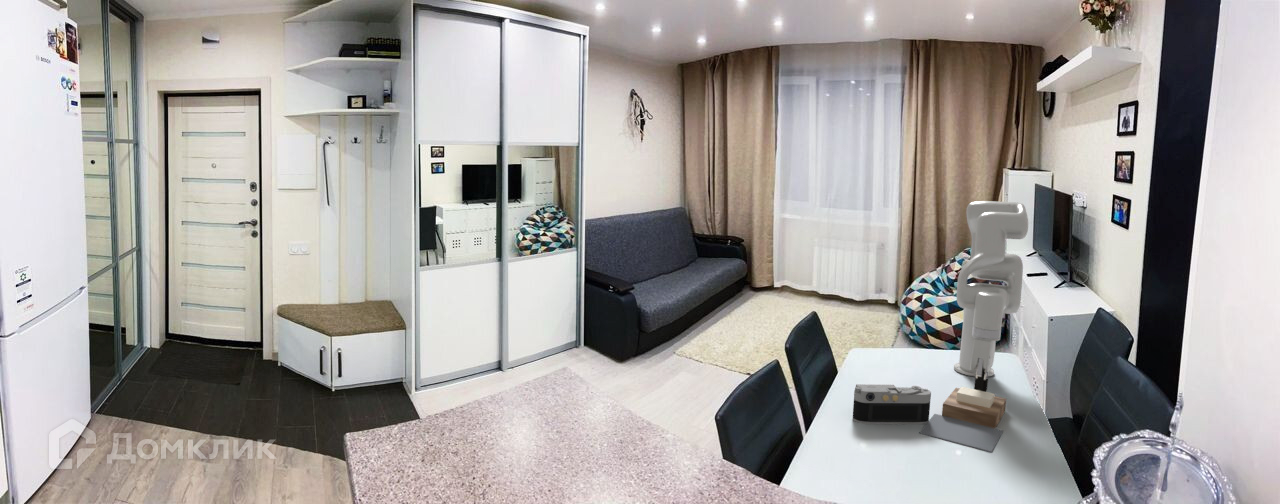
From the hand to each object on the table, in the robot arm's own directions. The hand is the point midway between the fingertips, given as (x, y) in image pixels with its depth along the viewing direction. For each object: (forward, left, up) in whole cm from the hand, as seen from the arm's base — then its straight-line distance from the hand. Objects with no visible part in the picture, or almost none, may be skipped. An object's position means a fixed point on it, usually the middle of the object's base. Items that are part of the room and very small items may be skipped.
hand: (980, 390), depth 199 cm
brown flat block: (+7, 0, -5) cm, 9 cm away
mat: (+23, 0, -5) cm, 24 cm away
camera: (+26, -19, -5) cm, 33 cm away
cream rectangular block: (+7, 0, -1) cm, 7 cm away
